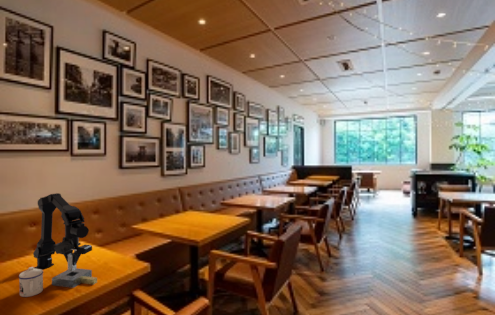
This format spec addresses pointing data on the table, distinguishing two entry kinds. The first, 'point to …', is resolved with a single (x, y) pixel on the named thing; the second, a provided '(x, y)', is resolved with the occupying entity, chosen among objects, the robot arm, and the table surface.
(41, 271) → the teacup with lid
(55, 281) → the grey slotted block
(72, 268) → the wedge pin
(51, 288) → the table surface
